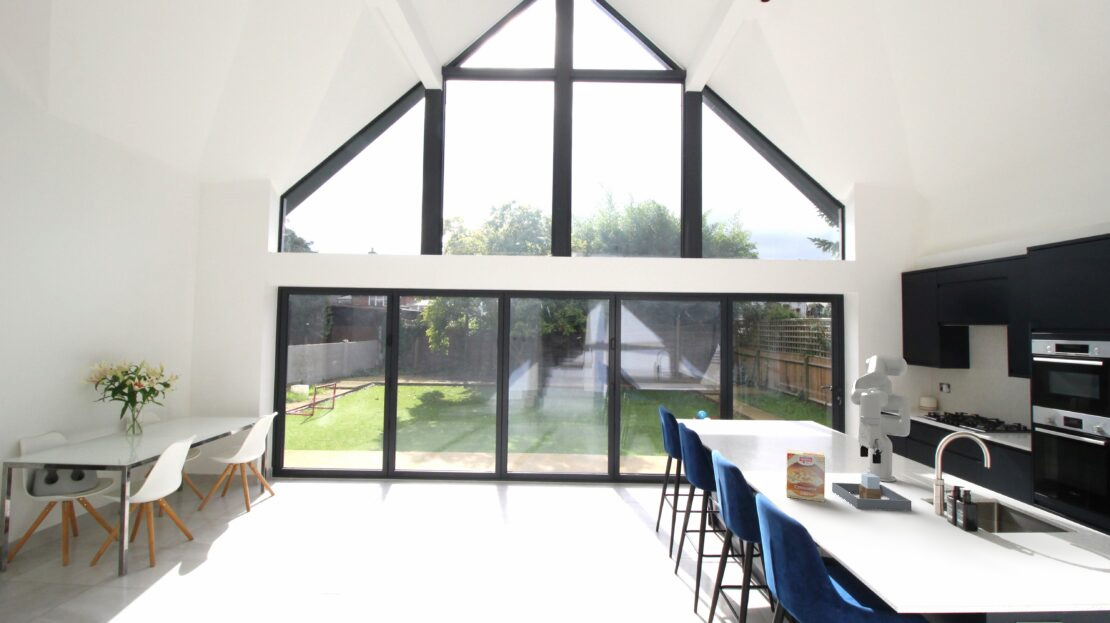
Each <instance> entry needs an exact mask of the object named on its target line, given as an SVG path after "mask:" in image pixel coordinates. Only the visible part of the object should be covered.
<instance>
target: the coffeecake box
mask: <svg viewBox="0 0 1110 623" xmlns="http://www.w3.org/2000/svg"><path fill="white" fill-rule="evenodd" d="M785 465H786V466H785V467H786V472H785V475H786V476H785V477H786V478H785V479H786V480H785V495H786V498H790V497H791V499H797V498H798V500H805V499H806V500H807V501H812V500H813V502H819V501H821V503H824V502H825V485H826V484H825V483H826V479H825V478H826V476H825V475H826V456H825V454H824V453H822V452H812V451H803V450H793V449H786V464H785ZM806 500H805V501H806Z"/></svg>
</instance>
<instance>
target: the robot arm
mask: <svg viewBox="0 0 1110 623" xmlns="http://www.w3.org/2000/svg"><path fill="white" fill-rule="evenodd" d="M865 369H866V371H865V372H866V373H865V374H864V375H862V376H860V377H858V378H856V380H854V382H853V383H852V387H851V391H850V400H851V403H852V404H854V405H857V406H860V411H859V412H860V414H859V415H860V423H859V428H858V444H859V449H860V451H859V453H860V454H859V455H860V457H861V458H869V466H868V467H867V469H868V470H869V472H868V471H867V472H866V473H865V474H874V475H876V476H878V477H880V482H888V483H892V482H895V481H897V477H896V476H894V475H893V442H892V440H891V439H890V438H889V437H888V436H895V437H896V436H897V437H908V436H909V435H910V433H911V432H910V431H911V400H910V398H909V397H908V396H907V395H905V394H901V393H893V383H892V381H891V379H889V377H890V376H891V377H892V376H893V377H904V376H906V375H907V372H908V363H907V361H906V360H905V358H903V357H902V356H899V355H888V354H875V355H872V356H870V357H869V358H867V359H866V360H865ZM888 376H889V377H888ZM882 412H883V413H891V414H897V415H890V414H883V413H882ZM881 413H882V414H881ZM887 435H888V436H887Z"/></svg>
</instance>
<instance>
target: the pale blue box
mask: <svg viewBox="0 0 1110 623" xmlns="http://www.w3.org/2000/svg"><path fill="white" fill-rule="evenodd" d="M860 475H861V479H860V480H861V482H860V484H861V485H862V486H864V487H866V488H867V489H880V484H881V481H880V477H878V476H876V475H874V474H866V473H861V474H860Z"/></svg>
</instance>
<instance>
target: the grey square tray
mask: <svg viewBox="0 0 1110 623" xmlns="http://www.w3.org/2000/svg"><path fill="white" fill-rule="evenodd" d="M859 484H860V483H857V482H856V483H854V482H853V483H851V482H832V484H831V491H833V492H832V493H834V494H835V493H836V494H835V495H836V496H838V495H839V496H838V497H840V498H841V497H842V498H843V500H844V499H845V500H846V501H845V500H844V501H845V502H847V503H848V502H849V505H851V504H852V505H851V506H853V507H854V508H855V509H858V510H859V509H861V510H879V509H881V510H880V511H903V510H906V511H908V512H911V511H912V500H911V499H908V498H907V497H905V496H903V495H901V494H899V493H897V492H896V491H894V490H892V489H891V488H889V487H887V486H885V485H883V484H881V483H880V489H881V496H883V497H884V498H887V499H883V498H881V499H863V498H859V497H857V496H856V495H854V494H859ZM849 492H855V493H854V494H853V493H849ZM842 498H841V499H842ZM888 498H889V499H888ZM906 511H905V512H906Z"/></svg>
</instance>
